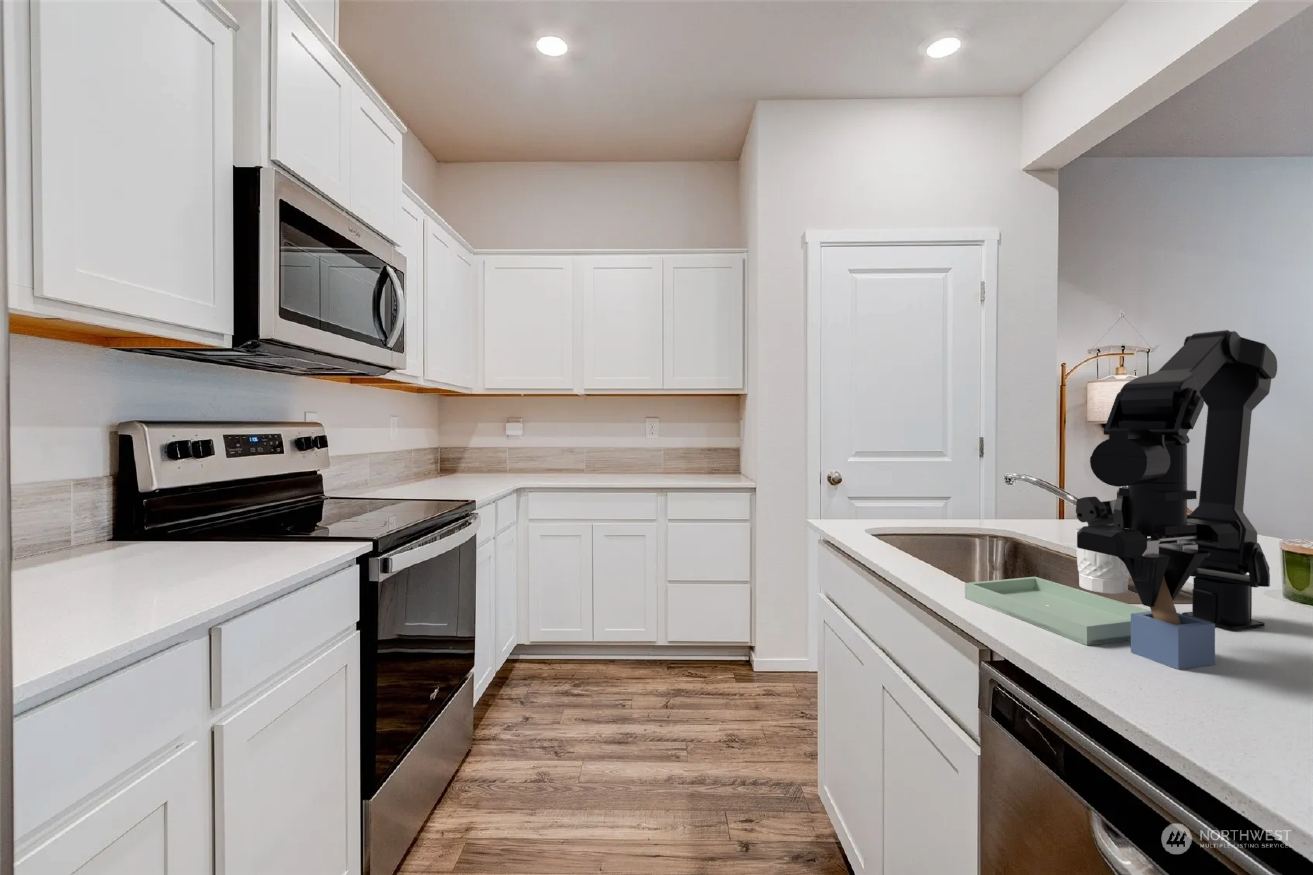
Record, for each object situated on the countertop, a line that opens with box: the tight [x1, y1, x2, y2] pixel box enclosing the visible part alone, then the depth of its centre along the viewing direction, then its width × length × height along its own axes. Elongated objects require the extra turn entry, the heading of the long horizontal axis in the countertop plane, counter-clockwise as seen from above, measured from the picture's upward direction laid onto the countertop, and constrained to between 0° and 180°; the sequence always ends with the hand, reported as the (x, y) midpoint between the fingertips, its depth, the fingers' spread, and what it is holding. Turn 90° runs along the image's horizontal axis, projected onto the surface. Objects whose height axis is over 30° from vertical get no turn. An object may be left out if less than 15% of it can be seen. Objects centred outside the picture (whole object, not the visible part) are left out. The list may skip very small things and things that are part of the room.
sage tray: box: [964, 576, 1151, 646], centre depth 91 cm, size 14×22×2 cm, turn 13°
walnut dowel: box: [1149, 577, 1181, 625], centre depth 75 cm, size 2×6×10 cm, turn 13°
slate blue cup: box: [1130, 610, 1216, 670], centre depth 74 cm, size 6×6×5 cm
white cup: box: [1074, 527, 1131, 595], centre depth 103 cm, size 8×8×10 cm
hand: (1156, 605), depth 75 cm, fingers closed on walnut dowel, 2 cm apart
